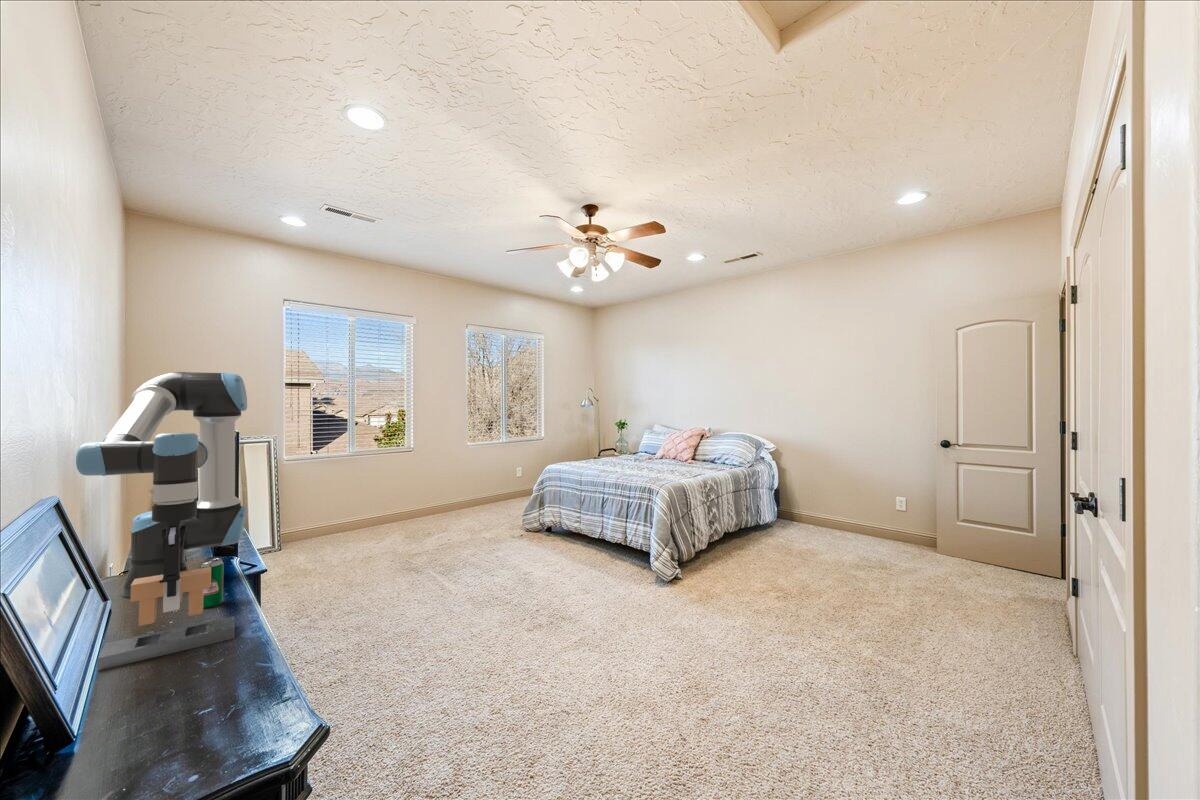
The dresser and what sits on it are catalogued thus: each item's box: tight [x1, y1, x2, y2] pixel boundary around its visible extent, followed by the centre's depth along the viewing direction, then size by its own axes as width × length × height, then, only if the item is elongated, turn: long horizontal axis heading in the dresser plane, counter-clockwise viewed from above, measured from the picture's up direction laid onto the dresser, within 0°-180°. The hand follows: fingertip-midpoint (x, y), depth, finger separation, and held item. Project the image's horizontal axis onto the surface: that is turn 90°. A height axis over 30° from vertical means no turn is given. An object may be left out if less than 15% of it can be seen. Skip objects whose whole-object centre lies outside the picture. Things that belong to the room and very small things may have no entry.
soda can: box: [199, 557, 225, 609], centre depth 128 cm, size 5×5×12 cm
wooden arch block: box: [129, 567, 211, 627], centre depth 106 cm, size 5×13×9 cm, turn 128°
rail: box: [96, 615, 236, 672], centre depth 106 cm, size 8×22×2 cm, turn 128°
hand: (172, 606), depth 106 cm, fingers closed on wooden arch block, 5 cm apart
